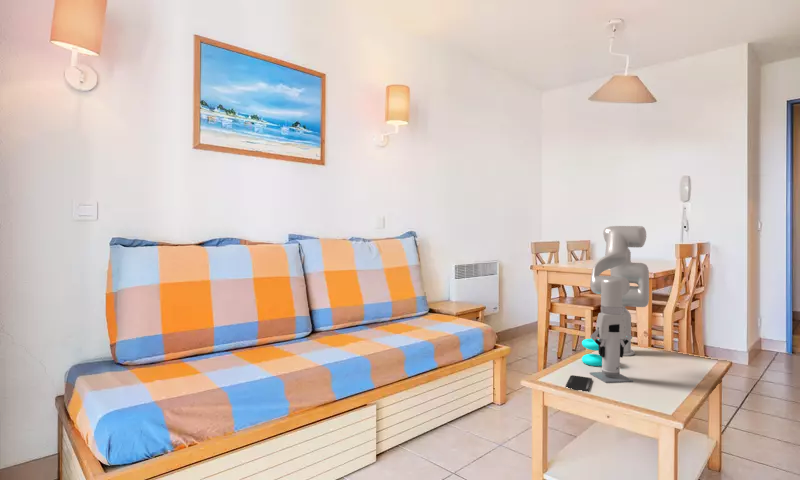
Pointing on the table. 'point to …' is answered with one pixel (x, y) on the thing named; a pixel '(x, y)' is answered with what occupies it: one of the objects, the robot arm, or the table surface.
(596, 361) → the donuts
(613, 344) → the travel mug
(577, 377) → the phone
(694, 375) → the table surface
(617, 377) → the coaster
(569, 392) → the table surface
